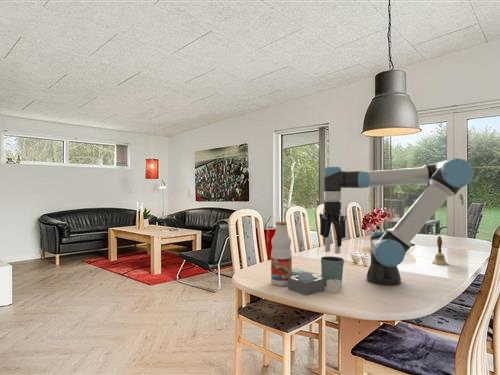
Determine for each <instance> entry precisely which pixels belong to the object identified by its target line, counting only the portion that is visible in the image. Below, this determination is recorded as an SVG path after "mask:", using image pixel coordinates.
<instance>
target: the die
mask: <svg viewBox="0 0 500 375" xmlns="http://www.w3.org/2000/svg"><path fill="white" fill-rule="evenodd" d="M326 292H328V293H331V294H332V293H333V294H338V293H339V292H342V285H341V280H336V279H329V280H327V287H326Z"/></svg>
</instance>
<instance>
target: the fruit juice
mask: <svg viewBox="0 0 500 375" xmlns="http://www.w3.org/2000/svg"><path fill="white" fill-rule="evenodd" d="M275 227H276V229H275V232H274V235H273V236H272V238H271V240H270V241H271V243H270V244H271V246H272V248H271V252H270V273H271V274H270V275H271V276H270V278H271V279H270V281H271V284H272V285H273V286H276V287H277V286H279V287H288V277H292V269H293V267H292V266H293V265H292V263H293V260H292V256H293V254H292V250H291V246H292V238H291V237H290V236H289V234H288V231H287V230H288V229H287V222H286V221H277V222H275Z"/></svg>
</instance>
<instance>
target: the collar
mask: <svg viewBox="0 0 500 375" xmlns="http://www.w3.org/2000/svg"><path fill="white" fill-rule="evenodd" d="M287 290H290V291H293V292H296V293H297V294H301V295H304V296H308V295H312V294H315V293H320V292H324V291H325V286H324V279H323V278H320V277H316V276H314V280H311V281H307V282H306V281H302V280H299V279H298V275H297V276H292V277H288V285H287Z"/></svg>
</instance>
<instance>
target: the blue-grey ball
mask: <svg viewBox="0 0 500 375" xmlns="http://www.w3.org/2000/svg"><path fill="white" fill-rule="evenodd" d="M310 272H311V271H309V270H304V271H303V272H301V273H300V274H299V275H298V279H299V280H302V281H306V282H307V281H311V280H314V276H313V275H312V274H311V273H310Z"/></svg>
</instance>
